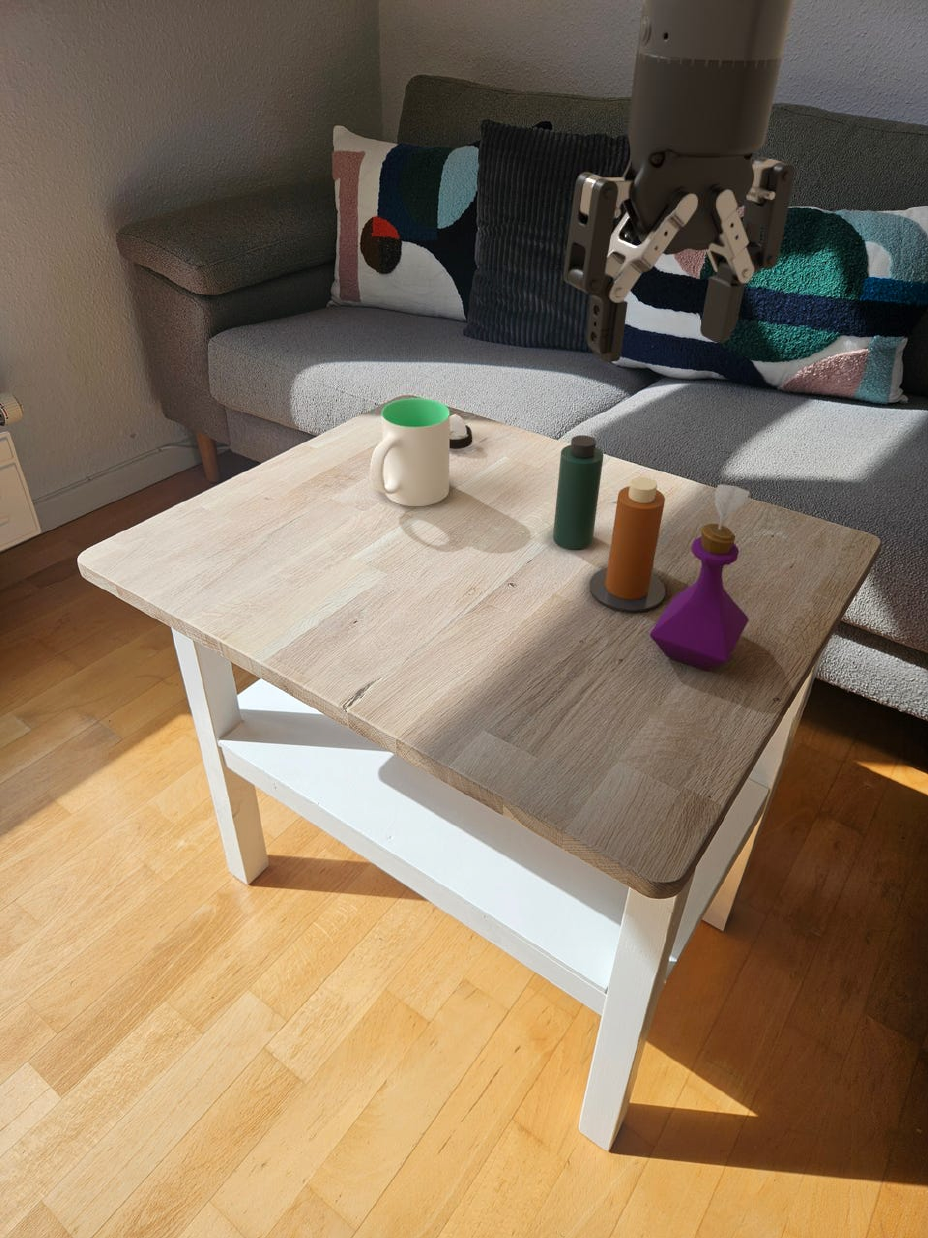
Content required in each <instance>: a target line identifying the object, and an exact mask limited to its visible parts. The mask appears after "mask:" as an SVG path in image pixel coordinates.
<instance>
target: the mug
mask: <svg viewBox="0 0 928 1238" xmlns="http://www.w3.org/2000/svg"><path fill="white" fill-rule="evenodd" d="M450 414H451V413H450V409H449V408H448V407H447V406H446V405H445V403H442V402H440V401H437V400H434V399H429V398H421V397H410V398H402V399H398V400H394V401H392V402H389V403H388V404H386V405H385V406H384V407H383V408H382V410H381V413H380V415H381V435H382V436H381V437H382V438H381V439H382V440H381V441H380V442H379V443H378V444H377V445H376V447H375V449H374V450H373V453H372V456H371V459H370V465H369V466H370V467H369V468H370V472H369V474H370V481H371V483H372V486H373V487H374V488H375V490H377V492H380V493H382V494H385V496H386V497H387V498H388V499H389V500H391V501H392V502H394V503H397V504H399V505H402V506H408V507H425V506H430V505H435V504H437V503H439V502H442V501H443V500H444V499H446V497H447V496H448V495H449V493H450V448H449V439H450V428H451V427H450V416H451V415H450Z"/></svg>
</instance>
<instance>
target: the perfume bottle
mask: <svg viewBox="0 0 928 1238" xmlns="http://www.w3.org/2000/svg"><path fill="white" fill-rule="evenodd" d="M750 494H751V492H750V491H748V490H747V489H743V488H742V487H739V486H736V485H728V484H718V485H717V487H716V488H715V493H714V506H715V508H716V511H717V513H718V516H719V518H720V519H719V523H707V524H705V525H704V524H703V525H702V527H701V530H700V531H701V532H700V534H701V535H700V536H699V537H697V538H695V539H694V540H693V542H692V545H691V547H690V551H691V553H692V554H693V556H694V557H695V558H696V559H697V560H699V561H700V563H701V566H700V571H699V575H698V577H697V579H696V581H695V582H694V584H692V585H690V586H688V587H686V588H685V589H683V590H682V591H680V592H678V593H676V594H674V595H673V597H672V599H671V600H670V602H669V603H668V605H667V606H666V608H665V610H664V611H663V613H662V614H661V616H660V617H659V619H658V620H657V622H656V623H655V625H654V626H653V628H652V630H651V631H650V633H649V637H650V638H651V639H652V640H653V641H654V643H655V644H656V645H657V646H658V648H659V649H660V650H661V651H662V653H663V654H664V655H665V656H666V657H667V658H668V659H671V660H674V661H677V662H680V663H682V664H685V665H688V666H691V667H694V668H697V669H699V670H702V671H705V672H709V671H711V670H713V669H715V668H717V667H719V666H722V665H724V664H725V663H727V662H728V661H729V659H730V657H731V655H732V653H733V651H734V649H735V648H736V645H737V643H738V642H739V640H740V638H741V636H742V634H743V632H744V630H745V628H746V626H747V624H748V623H749V620H750V619H749V617H748V616H747V614H745V612H744V611H743V610H742V609H741V608H740V607H739V605H738V604H737V603H736V602H735V601H734V599H732V597H731V596H730V594H729V593H728V592H727V590H726V589H725V588H724V587H725V586H724V582H723V570H724V566H727V565H731V564H733V563H734V562H736V561H737V560H738V557H739V553H740V551H739V548H738V546H737V545H736V543H735V540H736V535H735V534H734V533H733V531H732V530H731V529H730V528H729V527H727V526H725V525H723V523H724V521H725V520H726V519H728V518H729V517H730V516H732V515H733V514H735V513H736V512H738V510H740V508H741V507H742V506H743V505H744V503H745V502H746V501H747V499H748V498H749V496H750Z"/></svg>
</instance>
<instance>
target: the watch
mask: <svg viewBox="0 0 928 1238" xmlns="http://www.w3.org/2000/svg"><path fill="white" fill-rule="evenodd" d="M450 428H451V430H452V431H453V432H454V433H455V434H456V435H458V436H460V437H463V438H449V449H451V450H452V449H453V450H461V449H465V448H467V447H469V446H471V445H472V444H473V432H472V429H471V427H470V426H468V424H467V422H466V421H465V420H464V419H463V418H462V417H461V416H460V415H458V414H457V413H454V414H452V415H450Z"/></svg>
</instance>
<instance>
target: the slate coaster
mask: <svg viewBox="0 0 928 1238" xmlns="http://www.w3.org/2000/svg"><path fill="white" fill-rule="evenodd" d="M607 568H608V566H607V567H605V568H604V567H603V568H602V569H599V570H598V571H596V572H595V573H594V574H593V575H592V576H591V578H590V580H589V584H588V589H589V592H590V594H591V596H592V597H593V598H594V599H595V600H596V601H597V602H598V603H600V604H601V605H603V606H605V607H607V608H609V609H612V610H614V611H618V612H624V613H643V612H644V613H645V612H648V611H651V610H654V609H655V608H657V607H659V606H660V605H661V604H662V603H663V601H664V599H665V596H666V587H665V585H664V583H663V582H662V580H661V579H660V578H658V577H657V576H656V575H655V574H653V573H652V574H651V579H650V585H649V590H648V592H647V594H646V595H645V596H643V597H641V598H638V599H623V598H619V597H616V596H614V595H612V594H611V593H610V592H609V591H608V590H607V589H606V586H605V582H606V575H607Z"/></svg>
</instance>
